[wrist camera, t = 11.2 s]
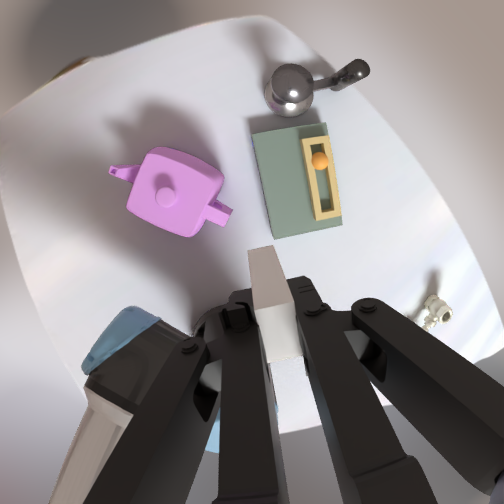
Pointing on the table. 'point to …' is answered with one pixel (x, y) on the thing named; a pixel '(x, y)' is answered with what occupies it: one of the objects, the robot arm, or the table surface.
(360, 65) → the cam capstan
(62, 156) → the table surface
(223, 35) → the table surface
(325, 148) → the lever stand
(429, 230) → the table surface
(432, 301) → the valve
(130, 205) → the teapot
